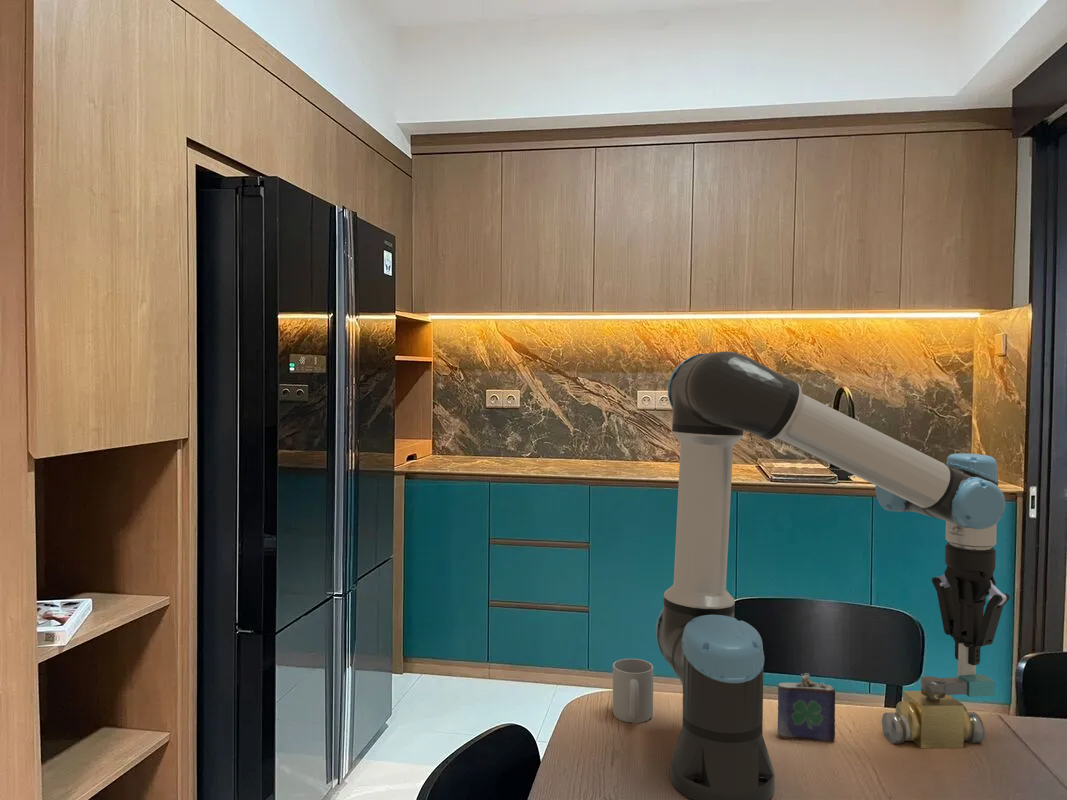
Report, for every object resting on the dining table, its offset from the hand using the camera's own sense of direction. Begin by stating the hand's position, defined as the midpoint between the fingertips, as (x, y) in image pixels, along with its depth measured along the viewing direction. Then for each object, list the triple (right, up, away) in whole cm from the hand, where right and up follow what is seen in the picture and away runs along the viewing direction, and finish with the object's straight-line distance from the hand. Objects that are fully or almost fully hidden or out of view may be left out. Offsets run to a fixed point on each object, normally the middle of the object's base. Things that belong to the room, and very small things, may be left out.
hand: (966, 680), depth 131 cm
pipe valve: (-7, -9, -3) cm, 12 cm away
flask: (-28, -9, -2) cm, 30 cm away
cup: (-57, -9, +5) cm, 58 cm away
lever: (-3, -1, -3) cm, 5 cm away
